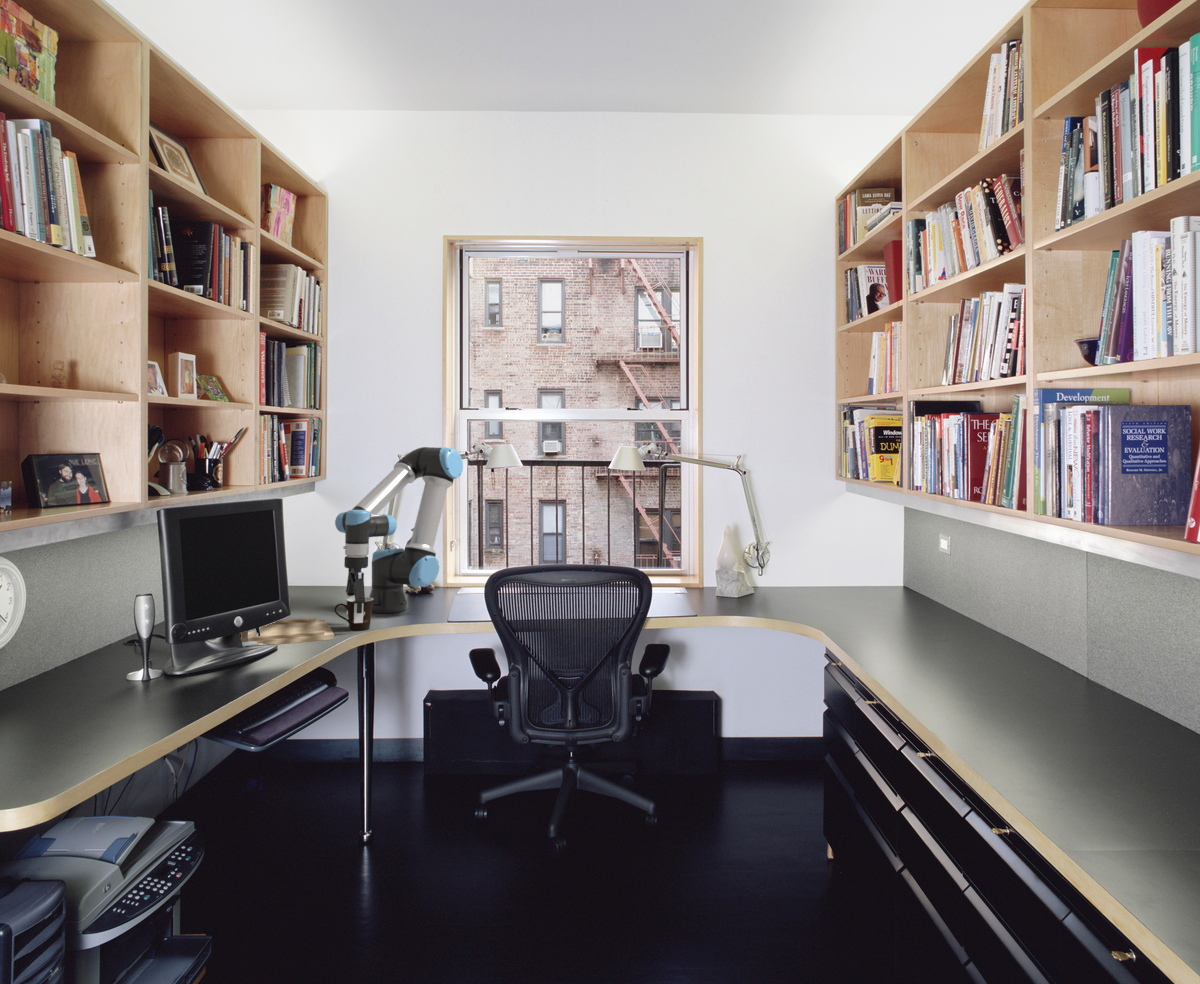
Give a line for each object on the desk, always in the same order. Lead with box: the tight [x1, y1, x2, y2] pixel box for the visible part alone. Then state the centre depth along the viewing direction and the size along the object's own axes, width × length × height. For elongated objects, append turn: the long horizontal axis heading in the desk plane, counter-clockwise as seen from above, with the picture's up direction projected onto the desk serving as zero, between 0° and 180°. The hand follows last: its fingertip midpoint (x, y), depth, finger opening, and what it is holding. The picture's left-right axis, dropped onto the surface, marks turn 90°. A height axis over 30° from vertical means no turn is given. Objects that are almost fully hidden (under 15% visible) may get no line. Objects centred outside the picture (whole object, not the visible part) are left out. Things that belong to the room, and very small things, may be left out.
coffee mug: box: [333, 596, 373, 632], centre depth 236 cm, size 12×9×10 cm
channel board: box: [241, 617, 335, 645], centre depth 225 cm, size 26×22×6 cm
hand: (354, 618), depth 236 cm, fingers open, 13 cm apart
